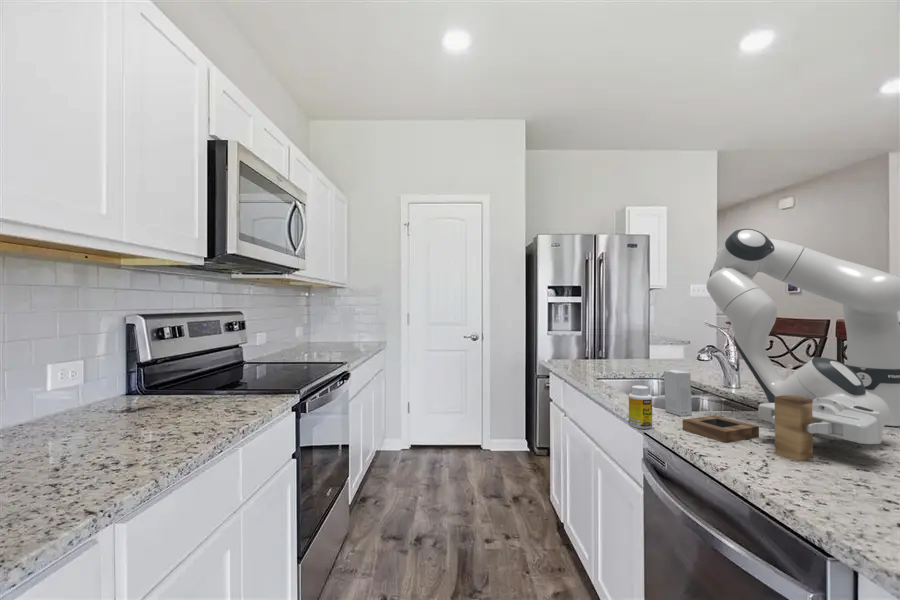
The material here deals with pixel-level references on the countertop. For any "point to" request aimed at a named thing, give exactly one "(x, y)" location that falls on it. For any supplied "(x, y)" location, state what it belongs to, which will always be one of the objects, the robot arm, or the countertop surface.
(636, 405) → the supplement bottle
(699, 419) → the wooden square frame
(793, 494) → the countertop surface
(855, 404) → the robot arm
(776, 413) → the peg
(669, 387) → the skincare box
